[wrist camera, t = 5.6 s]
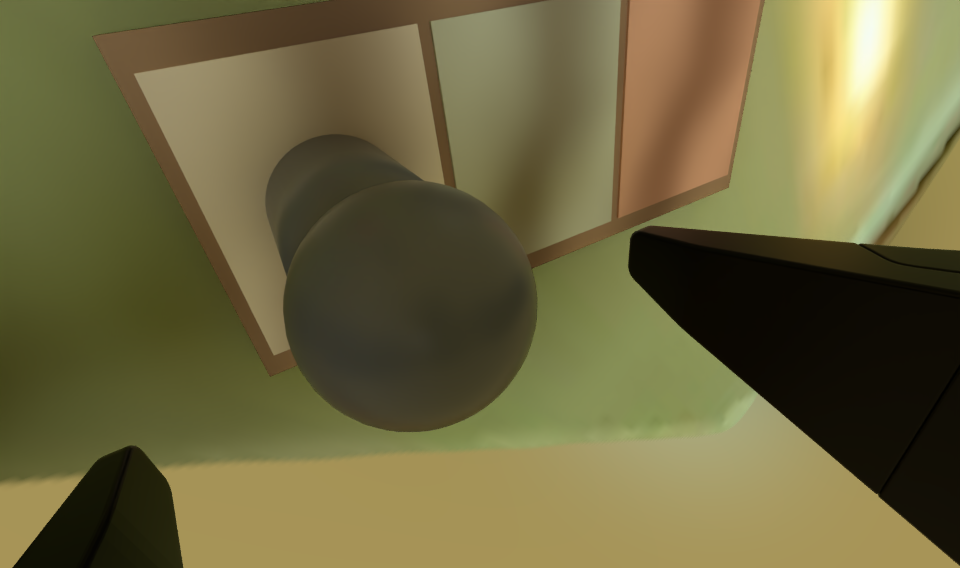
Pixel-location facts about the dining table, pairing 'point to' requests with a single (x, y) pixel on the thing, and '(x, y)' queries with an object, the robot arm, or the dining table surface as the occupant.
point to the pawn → (396, 287)
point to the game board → (442, 114)
